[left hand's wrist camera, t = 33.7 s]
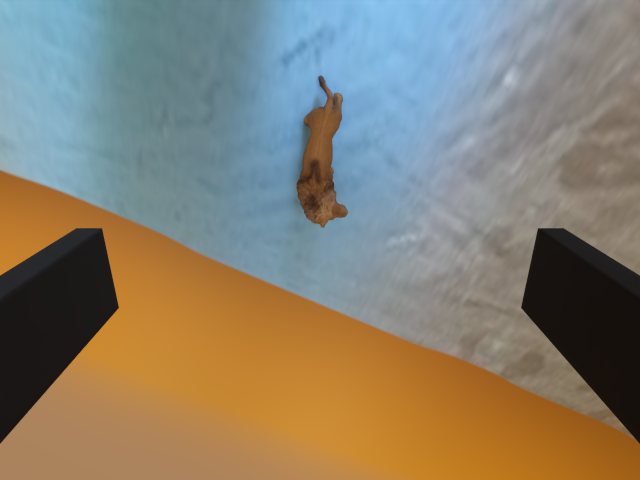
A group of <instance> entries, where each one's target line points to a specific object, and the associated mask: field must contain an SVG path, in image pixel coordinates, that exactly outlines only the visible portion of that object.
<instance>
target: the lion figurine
mask: <svg viewBox="0 0 640 480" xmlns="http://www.w3.org/2000/svg"><path fill="white" fill-rule="evenodd" d="M318 78H319V83H320V86H321V87H322V89H323V90H324V91H325V93H326V94H327V102H326V105H325V106H324V107H319V108H318V109H313V110H312V111H311V112H310V113H309V114H308V115H307V116H306V117H305V118H304V124H305V125H306V126H309V127H310V137H309V140H308V143H307V146H306V149H305V153H304V157H303V170H302V171H301V174H300V179H299V180H298V182H297V191H298V198H299V199H300V204H301V205H302V207H303V209H304V213H305V215H306V218H307V219H309V220H311V221H312V222H313V223H315V224H316V223H317V224H320V225H321V227H323V228H324V227H325V224H326V223H327V222H328V220H333V219H334V218H336V217H338V218H341V217H345V216H346V215H347V214H348V211H347V210H346V207H345V206H344V205H342V204H338V203H337V201H336V192H335V191H334V183H333V181H332V179H333V173H334V171H333V169H332V167H331V163H332V138H333V136H334V134H335V133H336V131H337V130H338V128H339V125H340V122H341V119H342V114H341V104H342V101H343V100H342V95H341V94H340V93H335V94H334V96H333V95H332V92H331V91H330V90H329V88H328V87H327V86H326V84H325V80H324V78H323V77H322V76H319V77H318ZM333 104H334V105H335V107H334V109H333Z"/></svg>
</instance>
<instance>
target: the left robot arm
mask: <svg viewBox="0 0 640 480" xmlns="http://www.w3.org/2000/svg"><path fill="white" fill-rule="evenodd" d="M118 308H119V306H118V302H117V297H116V292H115V288H114V283H113V278H112V274H111V269H110V264H109V259H108V255H107V250H106V245H105V241H104V236H103V231H102V229H101V228H77V229H75V230H73V231H72V232H70V233H68V234H67V235H65V236H64V237H62V238H60V239H59V240H57V241H55V242H54V243H52V244H51V245H49V246H47V247H46V248H44V249H42V250H41V251H39V252H38V253H36V254H34V255H33V256H31V257H30V258H28V259H26V260H25V261H23V262H22V263H20V264H18V265H17V266H15V267H14V268H12V269H10V270H9V271H7V272H5V273H4V274H2V275H1V276H0V443H1V442H2V441H3V440H4V439H5V438H6V436H7V435H8V434H9V433H10V432H11V431H12V429H13V428H14V427H15V426H16V425H17V424H18V423H19V421H20V420H21V419H22V418H23V417H24V416H25V415H26V413H27V412H28V411H29V410H30V409H31V408H32V406H33V405H34V404H35V403H36V402H37V401H38V400H39V399H40V397H41V396H42V395H43V394H44V393H45V392H46V391H47V389H48V388H49V387H50V386H51V385H52V384H53V383H54V381H55V380H56V379H57V378H58V377H59V376H60V375H61V373H62V372H63V371H64V370H65V369H66V368H67V367H68V365H69V364H70V363H71V362H72V361H73V360H74V359H75V357H76V356H77V355H78V354H79V353H80V352H81V350H82V349H83V348H84V347H85V346H86V345H87V344H88V342H89V341H90V340H91V339H92V338H93V337H94V336H95V334H96V333H97V332H98V331H99V330H100V329H101V328H102V326H103V325H104V324H105V323H106V322H107V321H108V319H109V318H110V317H111V316H112V315H113V314H114V313H115V312H116V310H117V309H118ZM521 308H522V309H523V310H524V312H525V313H526V314H527V315H528V316H529V317H530V318H531V320H532V321H533V322H534V323H535V324H536V325H537V326H538V328H539V329H540V330H541V331H542V332H543V333H544V334H545V336H546V337H547V338H548V339H549V340H550V341H551V342H552V344H553V345H554V346H555V347H556V348H557V349H558V351H559V352H560V353H561V354H562V355H563V356H564V357H565V359H566V360H567V361H568V362H569V363H570V364H571V365H572V367H573V368H574V369H575V370H576V371H577V372H578V373H579V375H580V376H581V377H582V378H583V379H584V380H585V381H586V383H587V384H588V385H589V386H590V387H591V388H592V389H593V391H594V392H595V393H596V394H597V395H598V396H599V397H600V399H601V400H602V401H603V402H604V403H605V404H606V405H607V407H608V408H609V409H610V410H611V411H612V412H613V413H614V415H615V416H616V417H617V418H618V419H619V420H620V421H621V423H622V424H623V425H624V426H625V427H626V428H627V429H628V431H629V432H630V433H631V434H632V435H633V436H634V438H635V439H636V440H637V441H638V442H639V443H640V276H639V275H638V274H636V273H635V272H633V271H631V270H630V269H628V268H627V267H625V266H623V265H622V264H620V263H618V262H617V261H615V260H614V259H612V258H610V257H609V256H607V255H606V254H604V253H602V252H601V251H599V250H598V249H596V248H594V247H593V246H591V245H589V244H588V243H586V242H585V241H583V240H581V239H580V238H578V237H577V236H575V235H573V234H572V233H570V232H568V231H567V230H565V229H564V228H538V231H537V236H536V241H535V245H534V250H533V255H532V259H531V264H530V269H529V274H528V278H527V283H526V288H525V292H524V297H523V302H522V306H521Z"/></svg>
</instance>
